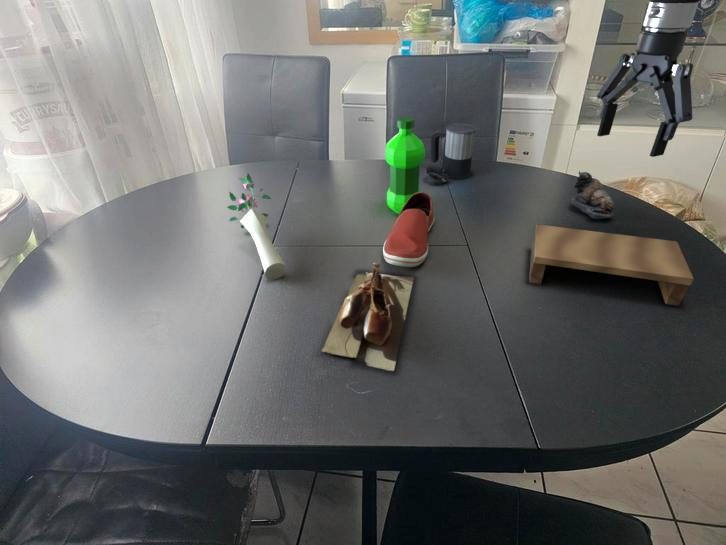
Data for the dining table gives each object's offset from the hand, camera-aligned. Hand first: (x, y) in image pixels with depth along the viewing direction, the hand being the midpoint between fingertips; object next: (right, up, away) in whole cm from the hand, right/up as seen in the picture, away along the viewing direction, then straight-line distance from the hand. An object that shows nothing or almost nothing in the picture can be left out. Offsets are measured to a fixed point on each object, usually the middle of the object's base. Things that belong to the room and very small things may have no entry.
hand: (628, 144), depth 93 cm
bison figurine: (+5, -11, +27) cm, 29 cm away
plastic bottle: (-44, -9, +32) cm, 55 cm away
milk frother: (-28, +4, +49) cm, 57 cm away
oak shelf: (-4, -27, +3) cm, 28 cm away
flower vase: (-81, -20, +19) cm, 85 cm away
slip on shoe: (-44, -20, +17) cm, 51 cm away
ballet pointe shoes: (-54, -35, -4) cm, 64 cm away
